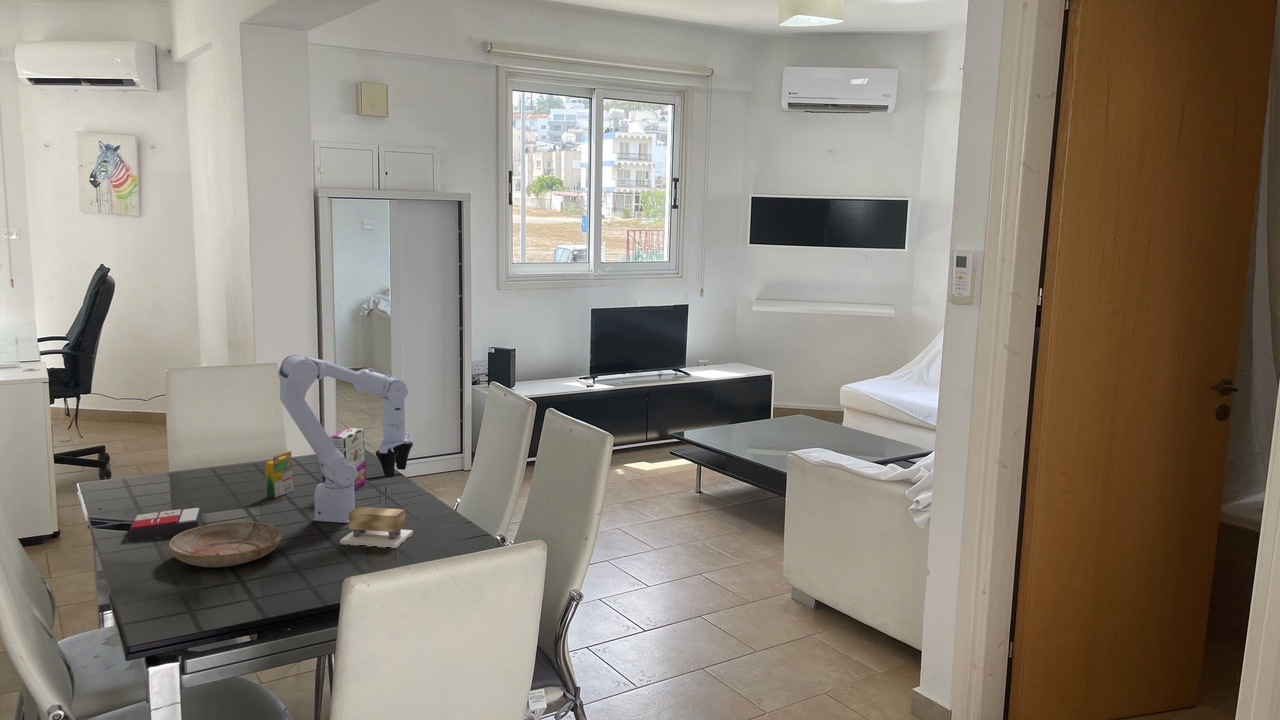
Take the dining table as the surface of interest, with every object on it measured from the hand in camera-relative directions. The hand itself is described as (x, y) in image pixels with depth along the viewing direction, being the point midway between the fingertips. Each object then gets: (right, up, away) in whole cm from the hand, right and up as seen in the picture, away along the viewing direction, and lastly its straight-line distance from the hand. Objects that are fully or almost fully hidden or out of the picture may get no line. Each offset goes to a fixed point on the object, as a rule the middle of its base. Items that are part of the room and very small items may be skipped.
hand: (395, 473), depth 251 cm
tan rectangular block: (+2, -10, -24) cm, 26 cm away
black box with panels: (-51, -12, -19) cm, 56 cm away
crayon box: (-35, -7, +12) cm, 38 cm away
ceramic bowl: (-29, -15, -36) cm, 49 cm away
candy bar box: (-18, -7, +18) cm, 26 cm away
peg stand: (+2, -13, -23) cm, 27 cm away
